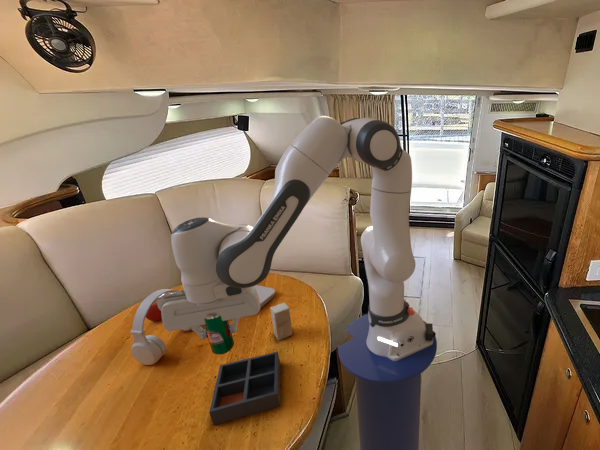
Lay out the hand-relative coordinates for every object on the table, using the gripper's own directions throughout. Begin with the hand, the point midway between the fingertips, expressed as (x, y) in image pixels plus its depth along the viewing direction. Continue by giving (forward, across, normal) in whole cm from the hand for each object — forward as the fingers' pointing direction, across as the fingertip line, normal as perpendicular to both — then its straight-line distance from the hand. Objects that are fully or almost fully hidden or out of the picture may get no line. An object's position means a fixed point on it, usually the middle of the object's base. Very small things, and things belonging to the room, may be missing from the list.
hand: (220, 334), depth 77 cm
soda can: (+5, 0, 0) cm, 5 cm away
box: (+21, +12, +22) cm, 33 cm away
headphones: (+21, -23, +30) cm, 43 cm away
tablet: (+21, -5, +50) cm, 54 cm away
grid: (+21, +3, +1) cm, 21 cm away
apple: (+21, -32, +46) cm, 60 cm away
